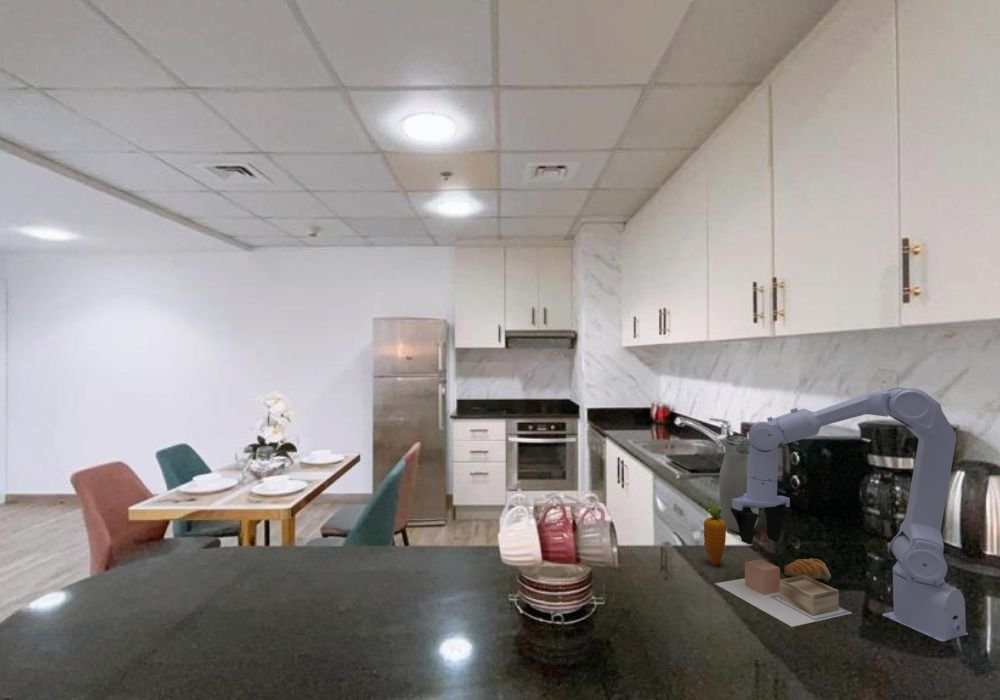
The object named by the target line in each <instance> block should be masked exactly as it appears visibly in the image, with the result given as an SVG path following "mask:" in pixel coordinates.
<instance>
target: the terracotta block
mask: <svg viewBox="0 0 1000 700" xmlns="http://www.w3.org/2000/svg"><path fill="white" fill-rule="evenodd" d="M744 578H745V586H747V587H749V588H751V589H753V590H755V591H757V592H759V593H761V594H762V595H767V594H772V593H778V592H780V579H781V567H779V566H777V565H775V564H772V563H770V562H768V561H766V560H764V559H755V560H753V559H752V560H747V561H744Z"/></svg>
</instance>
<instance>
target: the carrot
mask: <svg viewBox="0 0 1000 700" xmlns="http://www.w3.org/2000/svg"><path fill="white" fill-rule="evenodd" d="M708 505H709V506H710V508H708V509H707V512H708V513H709V515H710V516H709V517H707V518H706V519H704V522H703V533H704V534H703V537H704V538H703V539H704V545H705V551H706V555H707V556H708V559H709V561H710V563H711V565H713V566H714V567H715V566H717V567H718V566H719V564H720V562H721V560H722V557H723V555H724V551H725V546H726V539H727V537H726V534H727V527H726V523H725V522H724V521H723V520H722V519H721V518H720V516H721V515H720V513H721V511H722V508H720V505H716V506H714V504H713V502H712V501H709V502H708ZM715 507H716V508H715Z"/></svg>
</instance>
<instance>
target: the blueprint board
mask: <svg viewBox="0 0 1000 700" xmlns="http://www.w3.org/2000/svg"><path fill="white" fill-rule="evenodd" d="M780 580H781V578H780ZM714 584H715V585H716V586H718V587H720V588H721V589H723V590H725V591H727V592H729V593H731V594H733V595H734V596H736V597H738V598H739V599H742V600H743V601H744V602H747V603H748V604H750V605H752V606H754V607H755V608H757V609H759V610H761V611H763V612H764V613H767V614H768V615H770V616H771V617H773V618H775V619H777V620H779V621H781V622H782V623H784V624H786V625H788V626H790V627H791V628H793V627H797V626H798V627H799V626H802V625H807V624H812V623H815V622H816V623H817V622H820V621H824V620H828V619H834V618H837V617H842V616H846V615H850V614H852V612H851V611H850V610H849V611H848V610H846V609H844V608H843V607H840V606H839V610H838V611H834V612H829V613H825V614H820V615H816V616H812V615H810V614H808V613H806V612H804V611H802V610H800V609H799V608H797V607H795V606H793V605H791V604H789V603H787V602H785V601H783V600H781V599H780V592H778V593H772V594H767V595H762V594H761V593H759V592H757V591H755V590H753V589H751V588H749V587H747V586H745V577H744V578H740V579H739V578H738V579H733V580H727V581H721V582H715V583H714Z"/></svg>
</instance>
